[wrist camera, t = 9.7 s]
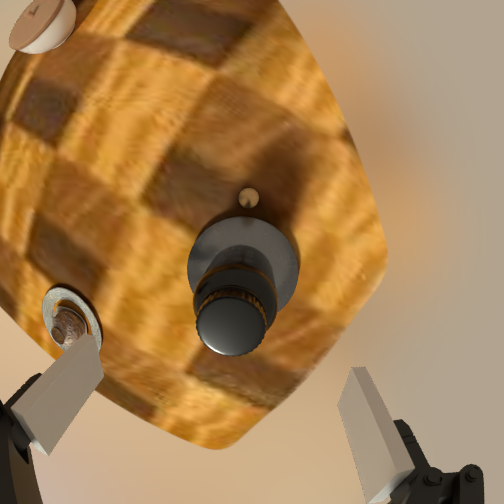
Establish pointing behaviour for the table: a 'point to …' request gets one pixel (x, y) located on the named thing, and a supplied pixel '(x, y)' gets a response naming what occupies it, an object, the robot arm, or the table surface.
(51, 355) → the table surface
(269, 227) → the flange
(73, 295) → the grey ring with stone
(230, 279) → the supplement bottle
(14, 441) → the robot arm
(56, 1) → the lidded jar
